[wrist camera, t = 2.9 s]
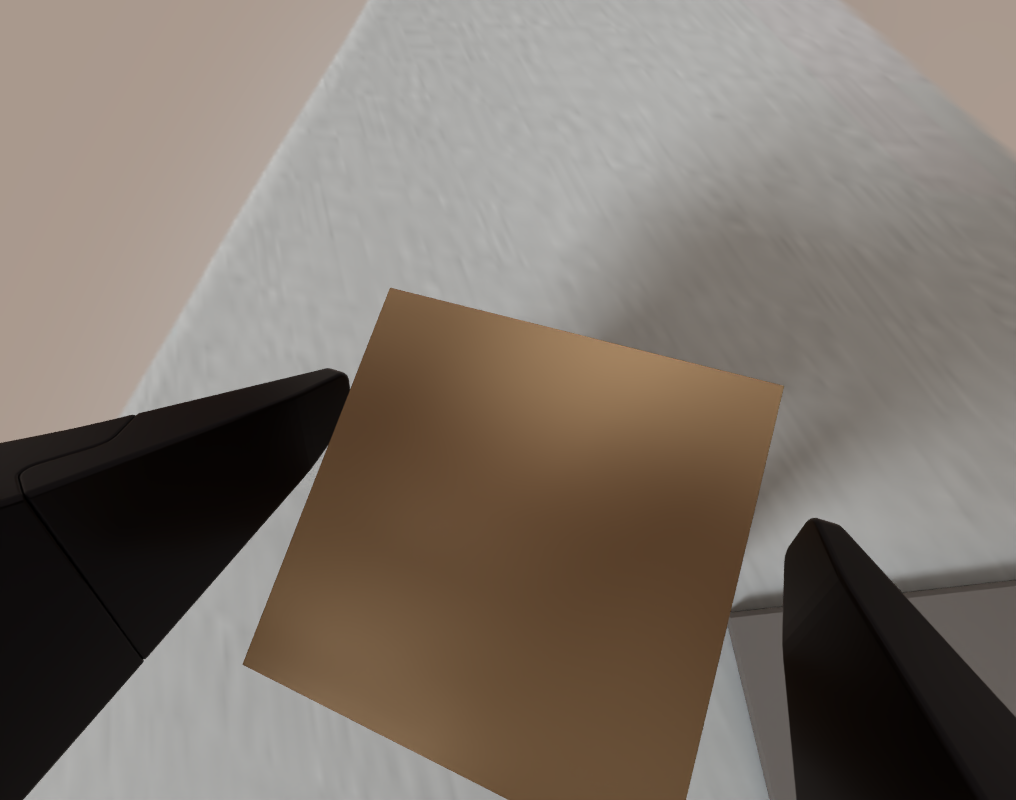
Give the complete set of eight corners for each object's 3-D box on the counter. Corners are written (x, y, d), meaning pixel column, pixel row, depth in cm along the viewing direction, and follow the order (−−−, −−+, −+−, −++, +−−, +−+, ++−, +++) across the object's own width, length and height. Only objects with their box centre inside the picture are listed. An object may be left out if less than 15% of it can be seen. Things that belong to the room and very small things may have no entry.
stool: (619, 644, 14) (666, 879, 5) (440, 572, 15) (242, 664, 7) (671, 454, 15) (784, 385, 6) (497, 402, 16) (390, 288, 8)
